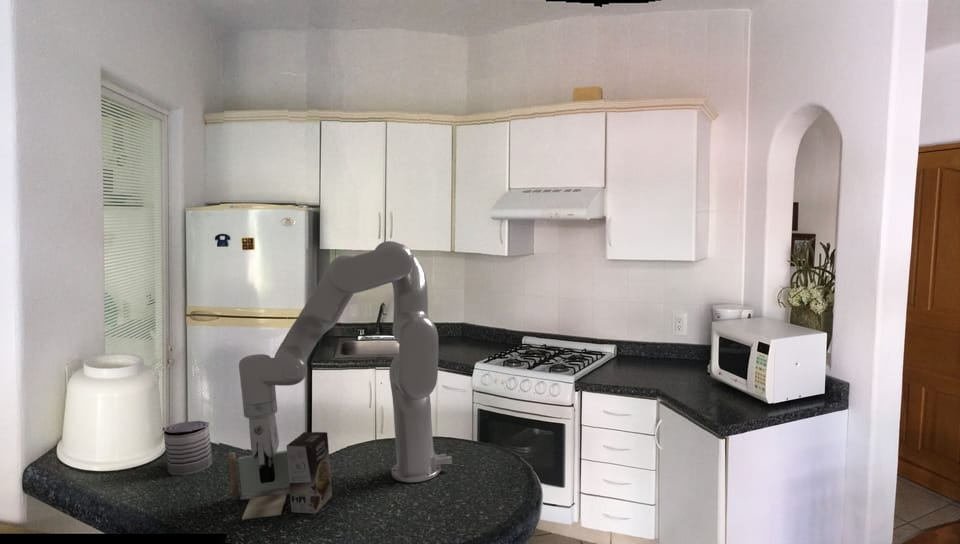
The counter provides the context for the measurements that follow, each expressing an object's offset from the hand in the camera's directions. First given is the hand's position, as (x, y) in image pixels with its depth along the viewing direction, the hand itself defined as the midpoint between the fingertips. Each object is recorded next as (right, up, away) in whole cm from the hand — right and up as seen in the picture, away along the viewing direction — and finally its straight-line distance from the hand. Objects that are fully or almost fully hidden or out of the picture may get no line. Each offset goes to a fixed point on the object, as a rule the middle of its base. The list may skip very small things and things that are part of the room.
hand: (267, 480), depth 154 cm
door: (-1, -3, +4) cm, 5 cm away
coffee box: (+12, -5, -3) cm, 13 cm away
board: (0, -5, -3) cm, 6 cm away
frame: (-1, -4, +3) cm, 5 cm away
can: (-29, -4, +23) cm, 37 cm away
